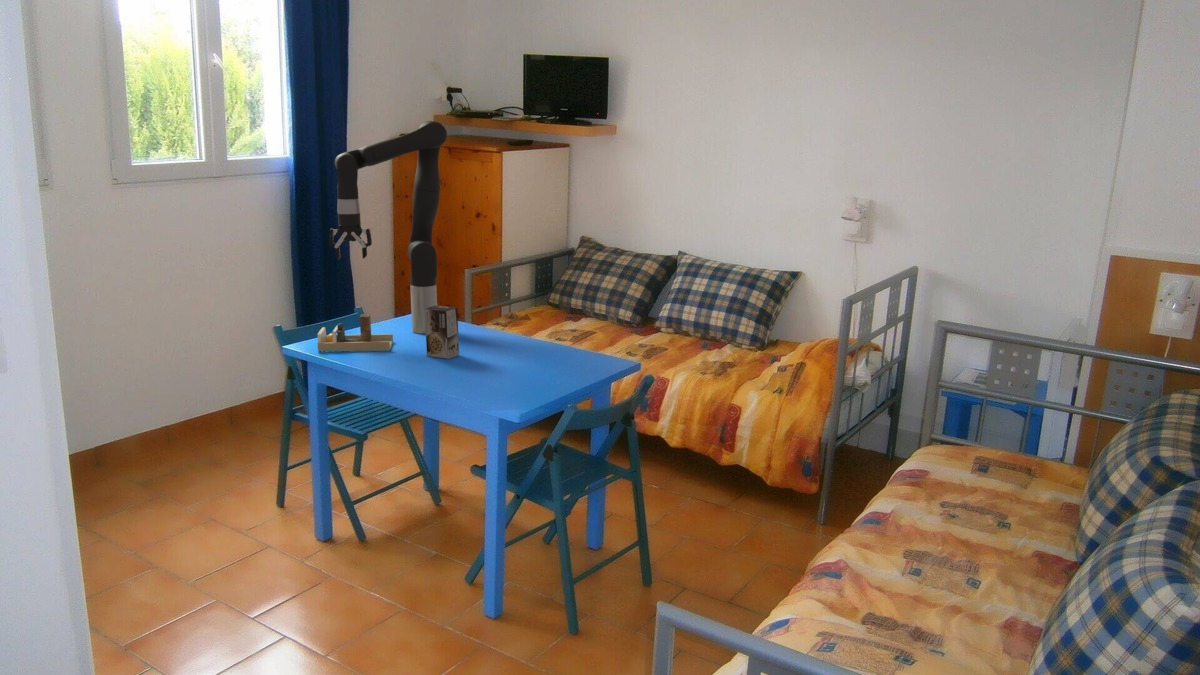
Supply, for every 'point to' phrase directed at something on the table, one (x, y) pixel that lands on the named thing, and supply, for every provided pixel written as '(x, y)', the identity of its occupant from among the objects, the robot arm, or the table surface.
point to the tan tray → (360, 344)
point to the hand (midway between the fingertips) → (351, 258)
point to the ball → (330, 338)
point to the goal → (322, 335)
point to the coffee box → (442, 331)
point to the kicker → (364, 329)
